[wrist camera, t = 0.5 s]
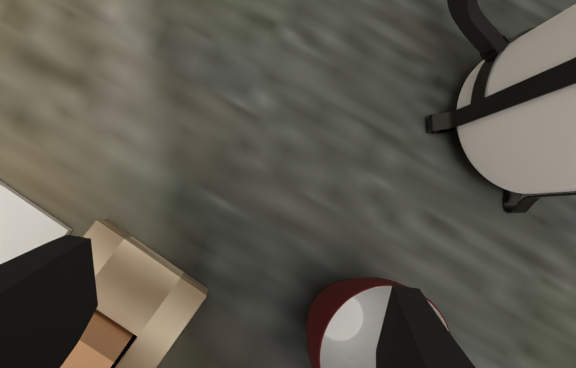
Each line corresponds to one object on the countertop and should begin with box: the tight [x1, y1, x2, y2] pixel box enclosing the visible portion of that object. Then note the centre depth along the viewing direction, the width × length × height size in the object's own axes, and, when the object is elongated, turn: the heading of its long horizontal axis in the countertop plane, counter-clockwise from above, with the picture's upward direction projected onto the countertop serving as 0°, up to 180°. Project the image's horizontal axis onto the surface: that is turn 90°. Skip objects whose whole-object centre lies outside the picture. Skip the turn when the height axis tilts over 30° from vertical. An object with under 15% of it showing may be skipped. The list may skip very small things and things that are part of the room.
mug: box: [306, 278, 450, 368], centre depth 30 cm, size 10×8×10 cm
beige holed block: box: [83, 219, 208, 368], centre depth 30 cm, size 14×9×3 cm, turn 144°
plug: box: [60, 309, 134, 368], centre depth 28 cm, size 4×4×8 cm
